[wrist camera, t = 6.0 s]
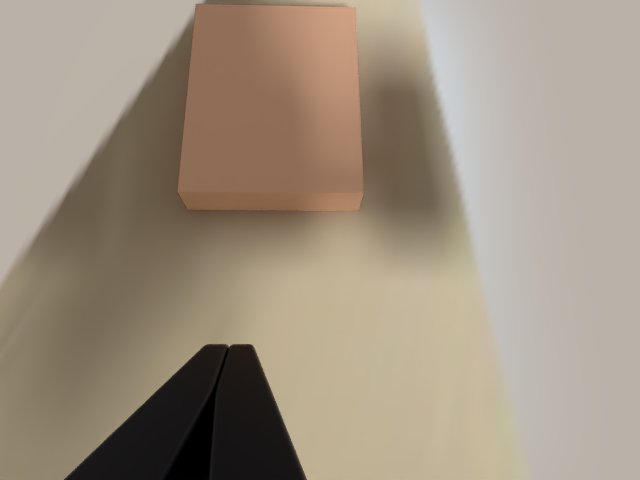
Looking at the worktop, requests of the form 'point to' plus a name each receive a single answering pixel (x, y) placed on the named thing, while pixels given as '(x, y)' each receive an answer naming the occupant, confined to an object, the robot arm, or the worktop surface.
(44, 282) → the worktop surface
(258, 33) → the block
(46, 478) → the worktop surface
